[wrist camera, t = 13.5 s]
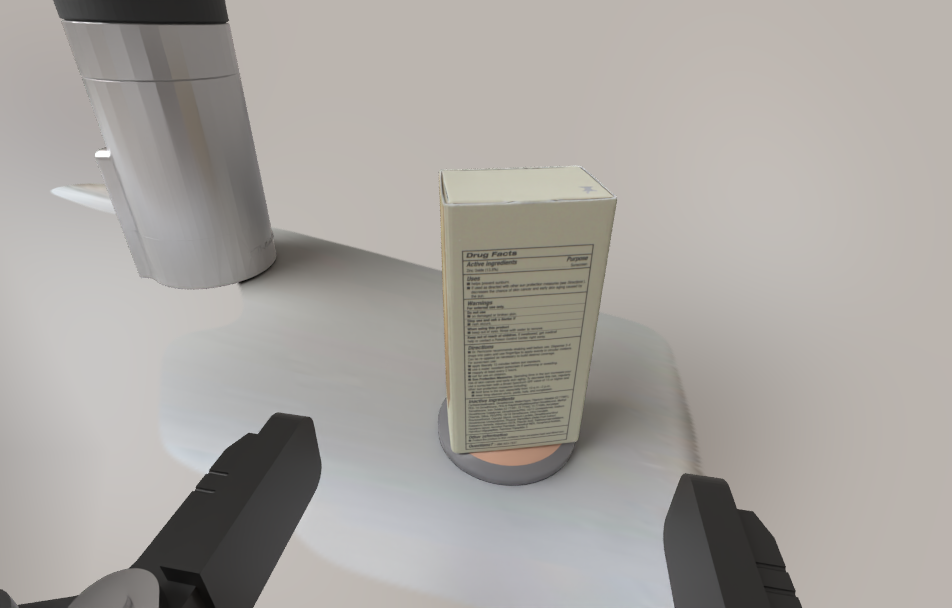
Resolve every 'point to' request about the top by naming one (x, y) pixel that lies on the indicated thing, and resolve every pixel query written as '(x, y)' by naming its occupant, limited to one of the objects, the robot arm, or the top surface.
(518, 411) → the skincare box
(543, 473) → the tile
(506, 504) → the top surface
